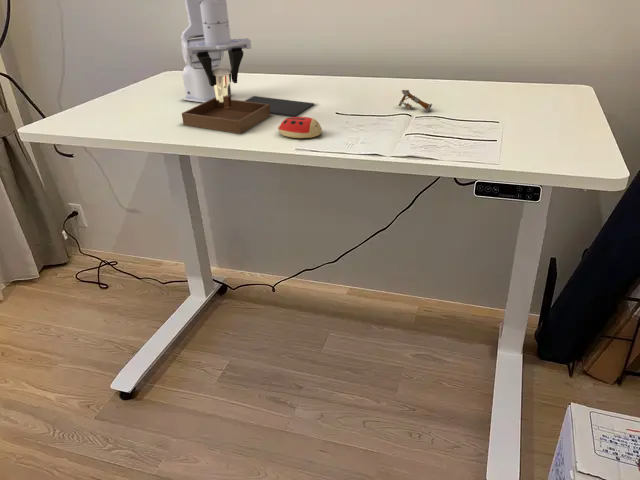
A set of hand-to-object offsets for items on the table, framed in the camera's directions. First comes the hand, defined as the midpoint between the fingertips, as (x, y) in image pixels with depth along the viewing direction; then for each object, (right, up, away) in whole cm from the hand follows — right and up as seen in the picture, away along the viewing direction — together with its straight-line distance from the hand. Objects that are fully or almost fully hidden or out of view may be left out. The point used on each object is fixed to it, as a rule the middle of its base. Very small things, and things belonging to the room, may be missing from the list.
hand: (223, 83), depth 130 cm
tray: (0, -8, +4) cm, 9 cm away
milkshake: (0, -5, +3) cm, 6 cm away
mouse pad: (+11, -2, +12) cm, 16 cm away
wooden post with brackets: (+45, -5, +6) cm, 46 cm away
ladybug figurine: (+18, -13, -5) cm, 23 cm away
